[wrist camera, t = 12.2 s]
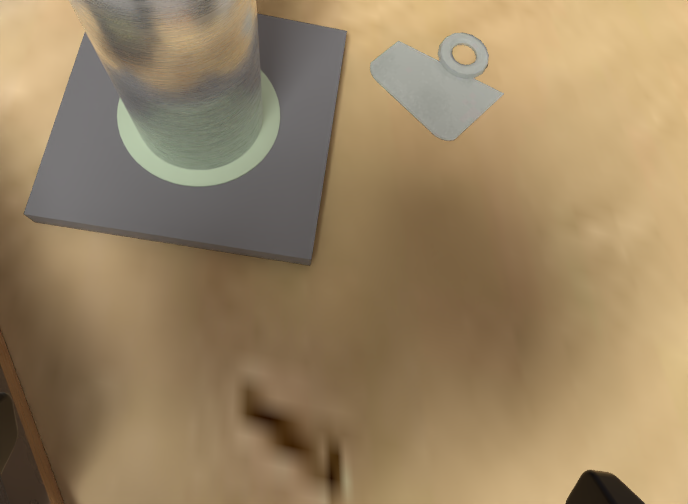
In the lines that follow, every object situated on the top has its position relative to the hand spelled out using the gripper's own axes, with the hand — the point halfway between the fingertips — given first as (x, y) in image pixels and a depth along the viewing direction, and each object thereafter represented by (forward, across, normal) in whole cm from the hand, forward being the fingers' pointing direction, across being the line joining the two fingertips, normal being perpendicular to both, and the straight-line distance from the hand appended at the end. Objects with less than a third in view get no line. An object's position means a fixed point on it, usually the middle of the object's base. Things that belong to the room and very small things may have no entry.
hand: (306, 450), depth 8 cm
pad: (+18, +6, +1) cm, 20 cm away
